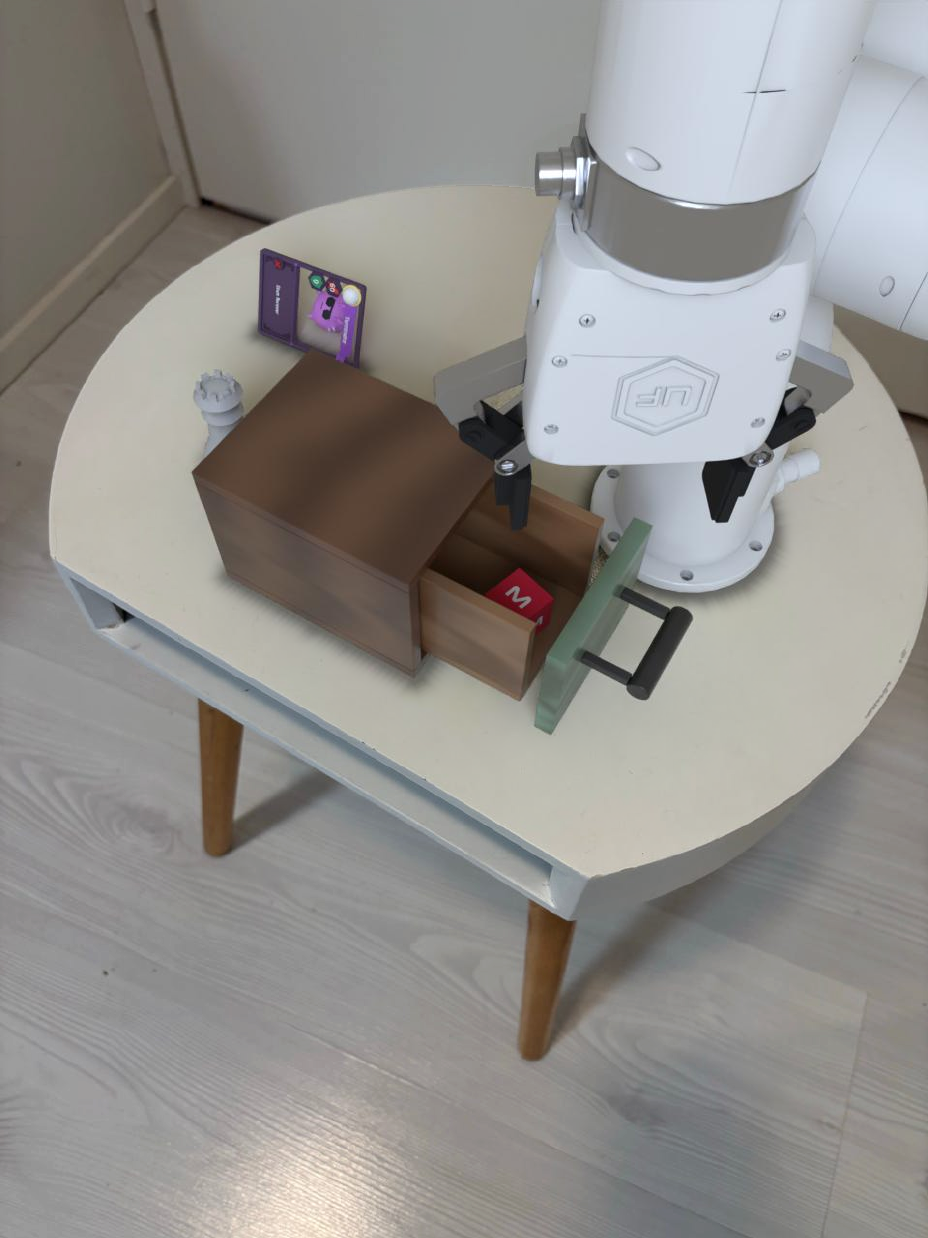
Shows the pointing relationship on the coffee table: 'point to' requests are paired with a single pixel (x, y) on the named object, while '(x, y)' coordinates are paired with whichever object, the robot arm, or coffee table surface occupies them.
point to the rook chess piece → (218, 405)
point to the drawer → (580, 614)
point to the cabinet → (341, 502)
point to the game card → (328, 307)
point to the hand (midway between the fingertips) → (615, 502)
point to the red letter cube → (524, 598)
